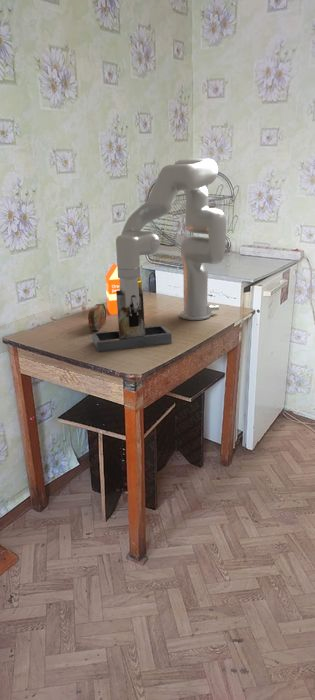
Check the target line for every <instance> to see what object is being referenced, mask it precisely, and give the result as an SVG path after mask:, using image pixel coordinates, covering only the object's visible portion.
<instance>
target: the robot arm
mask: <svg viewBox="0 0 315 700" xmlns="http://www.w3.org/2000/svg"><path fill="white" fill-rule="evenodd" d="M218 173H219V168H218V164H217V162H216V161H215V160H213V159H212V158H183V159H179V160H177V161H175V162H174V164H167V165H164V167H162V168H161V170H160V171H159V174H158V175H157V178H156V180H155V182H154V185H153V187H152V189H151V191H150V194H149V196H148V198H147V200H146V202H144V203H143V204H141V205H140V206H139V207H138V208H137V209H136V210H135V211H134V212H133V213H131V215H130V216H129V217H128V219H127V220H126V222H125V224H124V226H123V229H122V231H121V233H120V235H118V236H117V237H116V238H115V251H116V266H117V271H118V278H120V291H121V293H122V294H123V295H124V307H125V308H127V307H129V313H130V315H129V326H130V327H136V326H139V318H138V306H139V287H138V278H139V277H140V278H141V264H140V263H141V262H140V259H141V258H140V257H141V256H149V255H154V254H155V253H156V252H157V251H158V250H159V249H160V247H161V241H160V240H161V239H160V237H159V236H158V235H157V234H156V233H154V232H152V231H142V230H143V228H144V227H145V226H146V225H147V224H149V223H150V222H152V221H155V220H156V219H160V218H162V217H164V216H166V215H168V214H169V213H170V211H171V209H172V207H173V204H174V202H175V201H176V197H177V196H178V193H179V192H180V191H184V194H185V221H184V222H185V227H186V229H185V230H187V231H188V232H190V233H192V234H202V235H208V237H205V236H203V237H201V236H189V237H186V238H185V239H183V240H182V242H181V244H180V257H181V260H182V269H183V310H182V311H181V312H179V317H180V318H181V319H184V320H189V321H203V320H207V319H210V318H211V316H212V311H218V310H219V308H220V307H219V305H218V304H217V305H214V304H208V282H209V281H208V277H209V275H208V269H207V266H206V264H208V265H217V264H218V265H219V264H220V263H221V262H222V261H223V260H224V257H225V255H226V254H225V253H226V240H227V216H226V215H225V213H224V211H223V210H221V209H219V208H211V207H209V191H208V188H207V187H206V186H208V185H210V184H212V183H214V182H215V180H216V179H217V178H218ZM137 303H138V305H137ZM131 304H133V306H130V305H131ZM131 309H132V312H131Z"/></svg>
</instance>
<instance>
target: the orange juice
mask: <svg viewBox="0 0 315 700" xmlns="http://www.w3.org/2000/svg"><path fill="white" fill-rule="evenodd" d="M105 289H106V290H105V291H106V292H105V293H106V302H107V303H106V304H107V305H106V306H107V308H106V309H107V311H108V312H109V314H110V315H118V312H117V296H116V291H119V290H120V278H118V271H117V263H115V262H113V263H112V264H111V266H110V268H109V270H108V271H107V273H106V275H105Z"/></svg>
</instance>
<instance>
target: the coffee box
mask: <svg viewBox="0 0 315 700" xmlns="http://www.w3.org/2000/svg"><path fill="white" fill-rule="evenodd" d="M116 296H117V312H118V314H117V322H118V325H117V327H118V330H119V338H120V339H121V338H129V337H138V336H145V327H146V326H145V307H144V301H143V299H144V293H143V289H142V290H141V289H140V290H139V306H138V318H139V326H136V327H130V326H129V315H130V313H129V307H127V308H125V307H124V295H123V294H122V293H121V291H120V290H119V291H116ZM137 305H138V303H137ZM130 306H133V304H131V305H130ZM131 312H132V309H131Z"/></svg>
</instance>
